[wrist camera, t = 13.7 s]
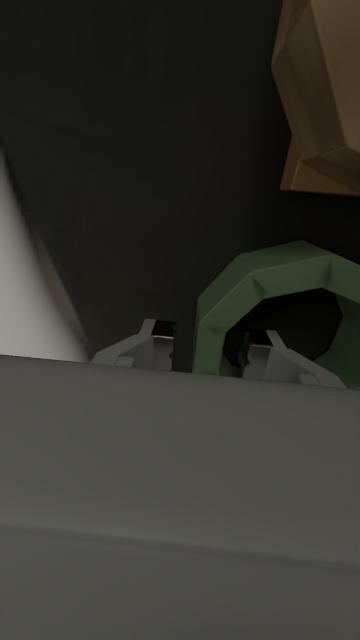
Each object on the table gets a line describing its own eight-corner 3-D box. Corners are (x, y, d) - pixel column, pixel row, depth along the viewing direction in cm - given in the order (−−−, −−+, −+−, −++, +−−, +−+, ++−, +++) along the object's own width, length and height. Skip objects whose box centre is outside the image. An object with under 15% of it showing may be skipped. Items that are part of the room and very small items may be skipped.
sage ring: (205, 232, 11) (207, 243, 9) (399, 248, 11) (463, 264, 8) (188, 384, 15) (186, 423, 13) (328, 398, 15) (355, 441, 13)
